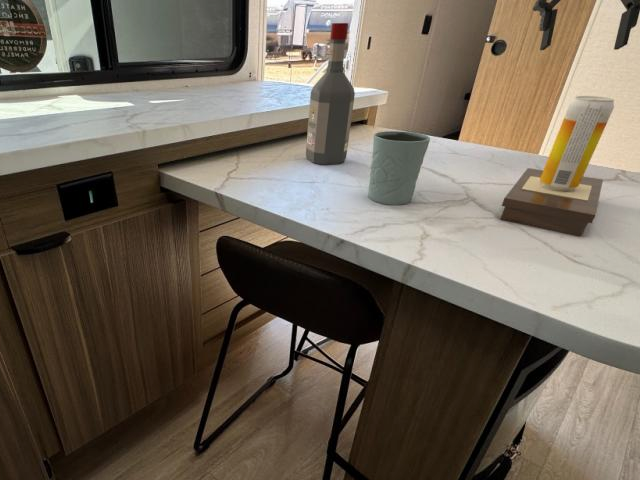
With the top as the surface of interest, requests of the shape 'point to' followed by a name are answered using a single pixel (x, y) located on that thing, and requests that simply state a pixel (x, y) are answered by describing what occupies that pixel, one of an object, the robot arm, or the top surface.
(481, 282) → the top surface
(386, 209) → the top surface
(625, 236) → the top surface
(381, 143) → the green embossed cup
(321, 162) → the liquor
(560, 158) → the beer can
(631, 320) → the top surface
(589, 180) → the brown lidded keepsake box
